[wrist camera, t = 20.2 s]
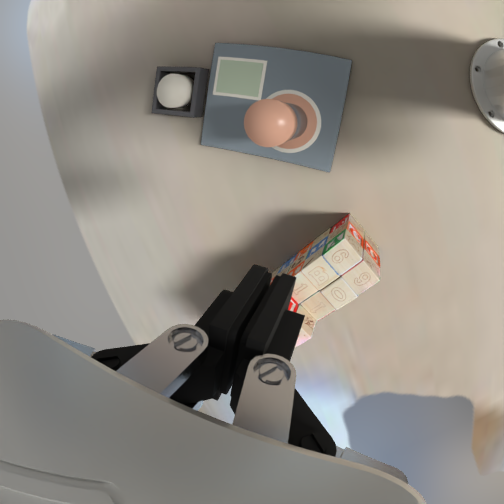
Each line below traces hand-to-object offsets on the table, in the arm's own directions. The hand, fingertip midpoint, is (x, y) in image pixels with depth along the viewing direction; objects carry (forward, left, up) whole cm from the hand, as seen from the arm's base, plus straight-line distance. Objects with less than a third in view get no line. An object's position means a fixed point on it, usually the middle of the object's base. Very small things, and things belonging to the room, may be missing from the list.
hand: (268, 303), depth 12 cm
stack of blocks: (+1, +15, -30) cm, 33 cm away
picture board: (+9, -7, -29) cm, 31 cm away
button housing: (+21, -7, -29) cm, 37 cm away
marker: (+6, -5, -28) cm, 29 cm away
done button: (+21, -7, -28) cm, 36 cm away
